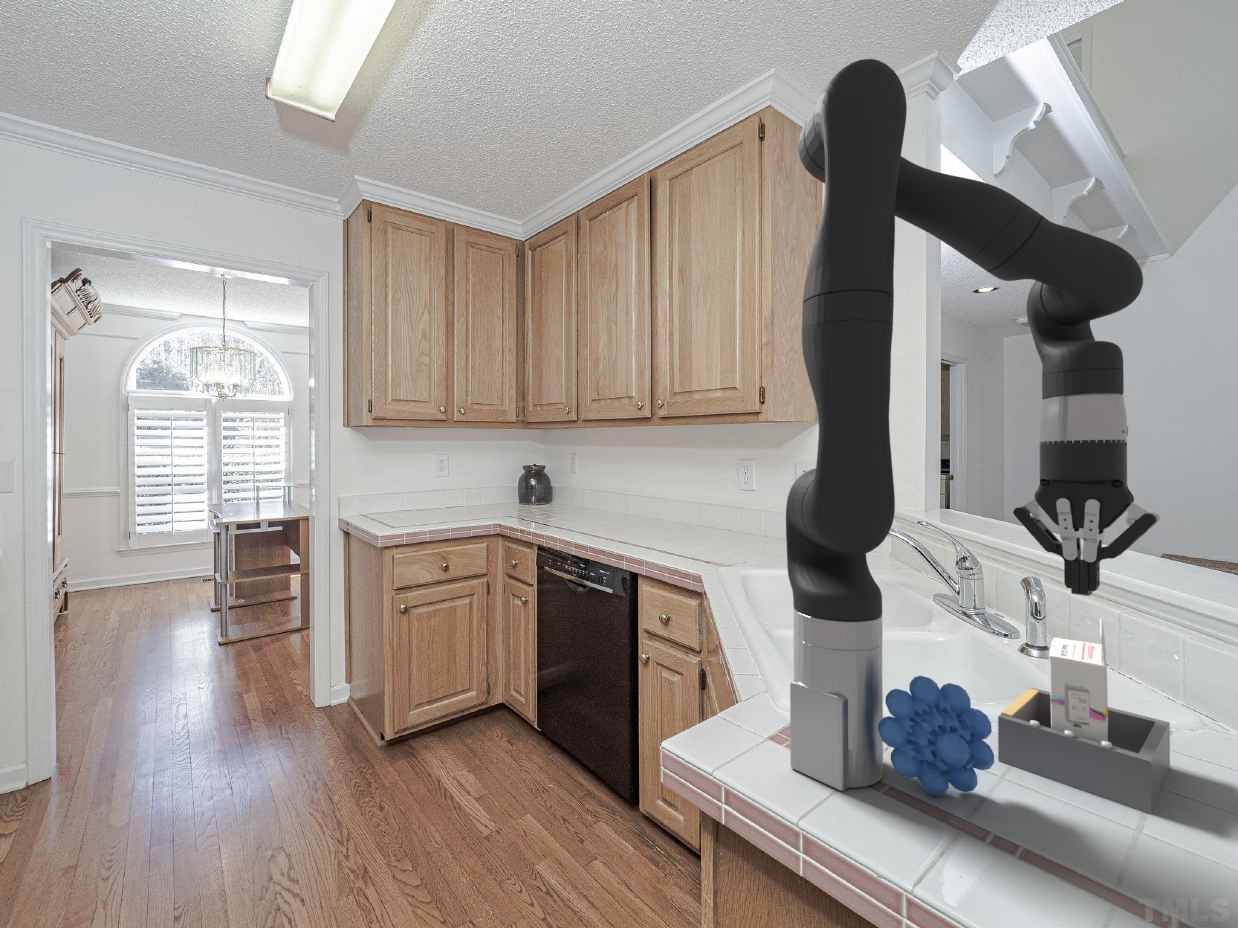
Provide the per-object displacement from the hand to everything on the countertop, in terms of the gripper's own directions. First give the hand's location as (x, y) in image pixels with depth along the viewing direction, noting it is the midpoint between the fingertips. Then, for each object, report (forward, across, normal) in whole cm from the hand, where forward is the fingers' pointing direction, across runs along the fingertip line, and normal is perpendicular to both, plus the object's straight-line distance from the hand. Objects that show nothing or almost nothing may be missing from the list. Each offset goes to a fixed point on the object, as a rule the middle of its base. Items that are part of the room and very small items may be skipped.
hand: (1082, 593), depth 63 cm
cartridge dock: (+19, 0, 0) cm, 19 cm away
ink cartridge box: (+18, 0, 0) cm, 18 cm away
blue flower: (+19, -8, -19) cm, 28 cm away
